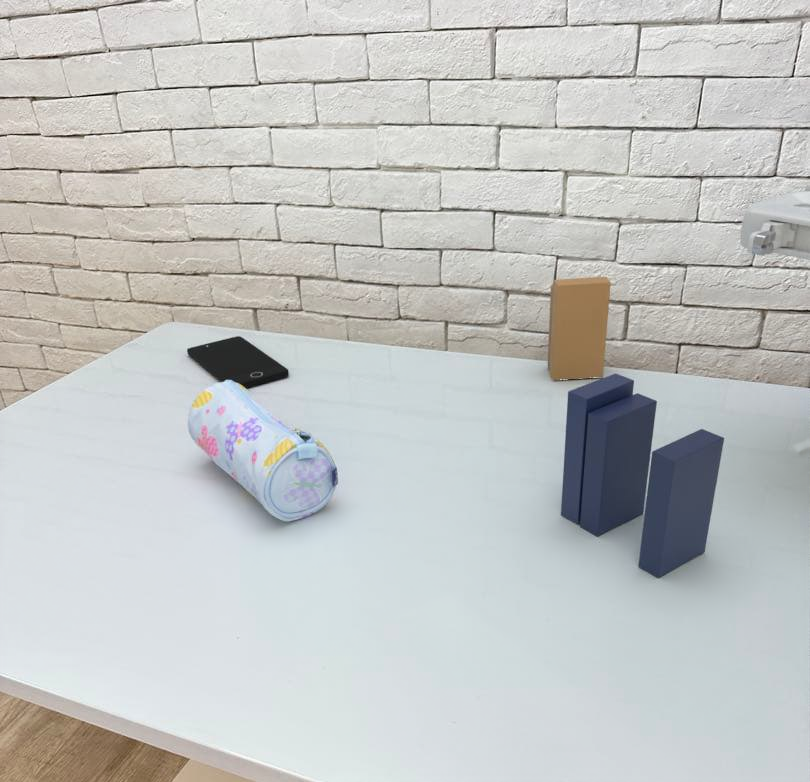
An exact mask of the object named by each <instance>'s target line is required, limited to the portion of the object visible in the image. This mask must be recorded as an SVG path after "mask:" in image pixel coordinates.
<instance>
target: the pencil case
mask: <svg viewBox="0 0 810 782" xmlns="http://www.w3.org/2000/svg"><path fill="white" fill-rule="evenodd" d="M187 416H188V418H187V428H188V432H189V435H190V438H191V439H192V440H193V442H194V443H195V444H196V445H197V446H198V447H199V449H201V450H202V451H203V452H204V453H205V454H206V455H207V456H208V457H209V459H211V460H212V461H213V462H214V463H215V464H216V465H217V466H218V467H219V468H220V469H221V470H223V471H224V472H225V473H227V474H228V475H229V476H230V477H231V478H232V479H233V480H234V481H236V482H237V483H238V484H239V485H240V486H242V487H243V489H245V490H246V492H248V493H249V494H250V495H251V496H253V497H254V498H255V499H256V500H257V502H259V503H260V504H261V505H262V506H263V508H264V509H265V511H266V512H268V513H269V514H270V515H271V516H273V517H274V518H276V519H279V520H280V521H282V522H293V521H296V520H300V519H303V518H306V517H309V516H311V515H313V514H315V513H317V512H319V511H320V510H321V509H322V508H323V507H325V506H326V505H327V504H328V503H329V501H330V500H331V498H332V497H333V495H334V494H335V490H336V488H337V485H339V475H338V468H337V466H336V463H335V461H334V458H333V456H332V455H331V453H330V452H329V450H328V448H326V446H325V445H324V444H323V443H322V442H321V441H320V440H319V439H318V438H315V436H314V435H313V434H312V433H311V432H308V431H305V430H302V429H300V428H299V427H297V426H294V427H293V428H292V429H290V428H289V427H288V426H287V425H285V423H283V422H282V421H281V420H280V419H279V418H277V417H276V416H275V415H274V413H272V412H271V411H270V410H269V409H268V408H267V407H265V406H264V405H263V404H261V402H259V401H258V399H256V398H254V397H253V396H252V394H251V393H250V391H249V390H248V389H247V388H245V387H243V386H242V385H240V384H239V383H236V382H233V381H232V380H225V382H221V381H217V382H215V383H214V384H212V385H209V386H207V387H205V388H204V389H202V390H200V392H198V394H197V395H196V397H195V398H194V399H193V401H192V403H191V405H190V408H189V412H188V415H187Z"/></svg>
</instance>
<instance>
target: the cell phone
mask: <svg viewBox="0 0 810 782" xmlns="http://www.w3.org/2000/svg"><path fill="white" fill-rule="evenodd" d="M186 353H187V355H188V356H190V357H191V358H192V359H193V360H194V361H196V362H197V363H198V364H199V365H200V366H202V367H203V368H204V369H205V370H207V372H209V373H211V375H212V376H214V377H215V378H216V379H217V380H218V381H219V382H225V380H232V381H233V382H236V383H239V384H240V385H242V386H243V387H245V388H246V389H247V388H250V387H255V386H258V385H262V384H265V383H269V382H272V381H277V380H280V379H284V378H287V377H289V374H290V373H289V369H288V368H287V367H285V366H284V365H282V364H281V362H278V361H277V360H275V359H274V358H272V356H270V355H269V354H266V352H264V351H262V350H261V349H259V348H258V347H257V346H256V345H254V344H252V343H251V342H250V341H248V340H246V339H245V338H244V337H242V336H241V335H237V336H232V337H229V338H224V339H221V340H216V341H212V342H208V343H204V344H200V345H195V346H191V347H188V348H187V349H186Z"/></svg>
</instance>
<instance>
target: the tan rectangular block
mask: <svg viewBox="0 0 810 782" xmlns="http://www.w3.org/2000/svg"><path fill="white" fill-rule="evenodd" d="M611 283H612V282H611V280H610V279H609V278H608V277H607V276H595V277H579V278H562V279H560V278H559V279H553V284H551V285H550V297H549V298H550V301H549V319H548V320H549V321H548V322H549V323H548V324H549V325H548V342H547V343H548V346H547V365H546V367H547V366H548V368H549V370H548V372H549V371H550V372H549V376H550V375H551V376H550V378H552V379H551V380H560V379H562V380H563V379H579V378H581V380H583V379H582V378H590V377H591V378H593V377H603V378H604V367H605V356H606V344H607V331H608V319H609V318H608V317H609V309H610V297H611V296H610V295H611ZM548 368H547V369H548Z"/></svg>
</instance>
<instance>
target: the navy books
mask: <svg viewBox="0 0 810 782" xmlns="http://www.w3.org/2000/svg"><path fill="white" fill-rule="evenodd" d="M634 387H635V379H631V378H629V377H627V376H623V375H621V374H618V373H616V372H615V373H612V374H610V375H608V376H604V377H603V378H598V379H596V380H594V381H591V382H589V383H587V384H583V385H581V386H578V387H577V388H574V389H570V390H568V391H567V403H566V405H567V406H566V419H565V421H566V422H565V438H564V452H563V453H564V454H563V469H562V471H563V473H562V487H561V488H562V490H561V507H560V515H561V516H562V517H564V518H565V519H567V520H569V521H571V522H573V523H575V524H576V525H579V527H580V528H582V529H583V530H585V531H587V532H588V533H590V534H592V535H594V536H595V537H599V536H602V535H604V534H605V533H606V534H607V532H609V531H611V530H612V531H613V530H614V529H615V528H619V526H622V525H623V524H625V523H627V522H630V521H632V520H634V519H635V518H638V517H639V516H641V515H644V513H645V504H646V496H647V488H648V480H649V472H650V463H651V455H652V444H653V436H654V429H655V420H656V413H657V404H658V401H657V400H656V399H653V398H651V397H649V396H646V395H643V394H640V393H634Z"/></svg>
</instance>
